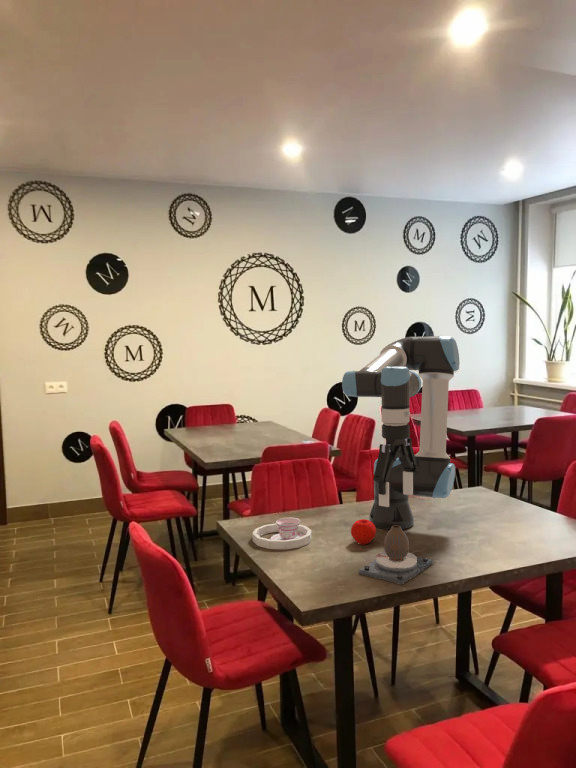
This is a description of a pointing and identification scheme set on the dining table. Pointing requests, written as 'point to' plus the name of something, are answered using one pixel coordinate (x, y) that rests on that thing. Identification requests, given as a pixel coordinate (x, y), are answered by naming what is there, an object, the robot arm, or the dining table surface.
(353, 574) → the dining table surface
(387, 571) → the duct flange
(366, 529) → the apple
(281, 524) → the teacup
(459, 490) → the dining table surface
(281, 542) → the saucer ring
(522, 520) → the dining table surface
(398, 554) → the vase
